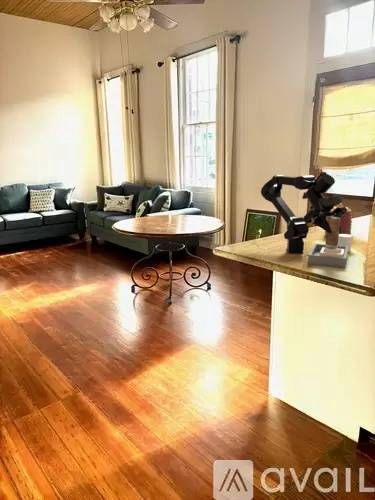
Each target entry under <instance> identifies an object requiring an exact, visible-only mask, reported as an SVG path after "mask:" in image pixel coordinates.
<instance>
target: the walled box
mask: <svg viewBox="0 0 375 500" xmlns="http://www.w3.org/2000/svg"><path fill="white" fill-rule="evenodd" d="M325 245H326V243H313V246H312V248H311V249H310V251H309V253H308V254H307V255H308V257H307V265H310V266H311V265H312V266H321V267H330V268H338V269H339V268H341V269H345V268H346V265H347V260H348V256H349V255H348V254H349V251H348V246H339V245H338V248H337V249H328V248H325Z"/></svg>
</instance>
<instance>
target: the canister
mask: <svg viewBox="0 0 375 500" xmlns="http://www.w3.org/2000/svg"><path fill="white" fill-rule="evenodd" d="M336 207H344V205H343V203H341V202H340V204H337V205H336V206H334V208H333V209H331V211H333V210H334V209H335V208H336ZM345 207H346V209H347V212H346V213H345V214H344V215H343V216H342V217H341V218H340V226H341V231H340V232H339V234H350V235H352V225H353V224H352V222H353V220H352V217H353V215H354V214H353V213H352V209H351V208H349V207H348V206H345ZM326 221H327V222H328V217H326ZM326 234H327V231H325V230H324V236H325V237H326Z"/></svg>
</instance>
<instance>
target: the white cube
mask: <svg viewBox="0 0 375 500" xmlns="http://www.w3.org/2000/svg"><path fill="white" fill-rule="evenodd" d="M353 240H354V235H353V234H351V235H350V234H339V238H338V245H339V246H348V252H351V251H352V245H353Z"/></svg>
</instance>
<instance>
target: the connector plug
mask: <svg viewBox="0 0 375 500" xmlns="http://www.w3.org/2000/svg"><path fill="white" fill-rule="evenodd" d="M328 224H329V226H330V228H331V231H332V233H328V232H327V234H326V236H325V244H326V245H325V248H328V249H337V248H338V238H339V228H340V218H338V217H328Z"/></svg>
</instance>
